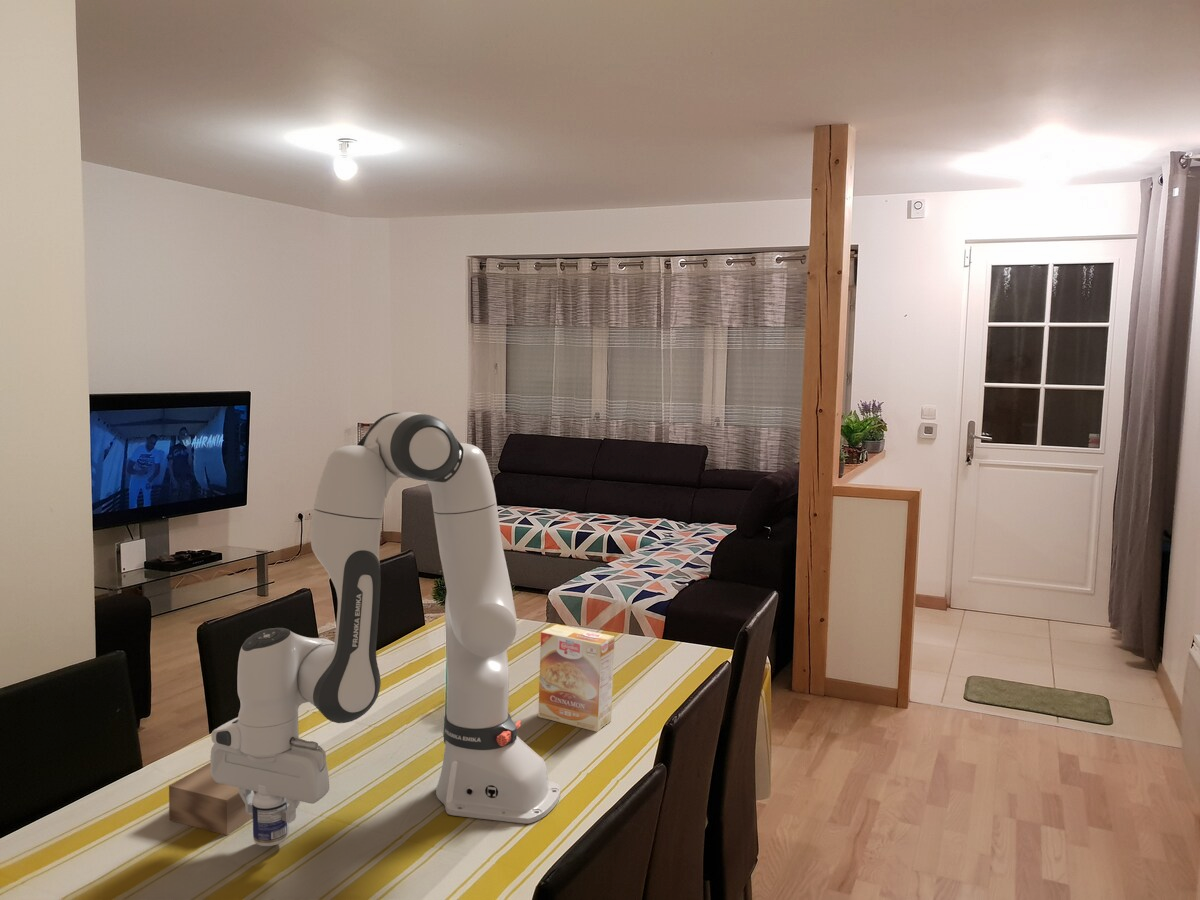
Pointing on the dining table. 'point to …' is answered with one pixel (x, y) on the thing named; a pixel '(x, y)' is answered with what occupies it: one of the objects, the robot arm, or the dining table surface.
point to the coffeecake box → (576, 677)
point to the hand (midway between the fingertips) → (270, 816)
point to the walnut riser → (207, 803)
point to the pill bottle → (268, 818)
